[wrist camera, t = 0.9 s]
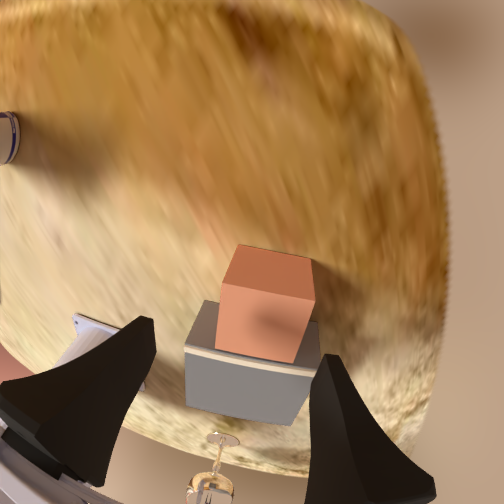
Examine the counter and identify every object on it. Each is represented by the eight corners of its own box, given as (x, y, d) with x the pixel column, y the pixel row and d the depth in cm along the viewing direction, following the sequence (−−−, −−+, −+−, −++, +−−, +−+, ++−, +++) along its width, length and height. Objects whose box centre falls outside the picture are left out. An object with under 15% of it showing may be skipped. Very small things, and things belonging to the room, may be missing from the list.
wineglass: (244, 450, 33) (231, 520, 22) (205, 444, 34) (186, 512, 23) (242, 433, 31) (227, 514, 20) (199, 427, 31) (176, 504, 21)
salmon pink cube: (293, 315, 21) (292, 363, 17) (229, 303, 21) (214, 348, 17) (310, 258, 19) (315, 301, 15) (238, 244, 19) (222, 282, 15)
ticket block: (292, 383, 25) (290, 428, 20) (200, 365, 25) (185, 407, 21) (317, 322, 21) (321, 371, 17) (204, 300, 22) (183, 345, 17)
